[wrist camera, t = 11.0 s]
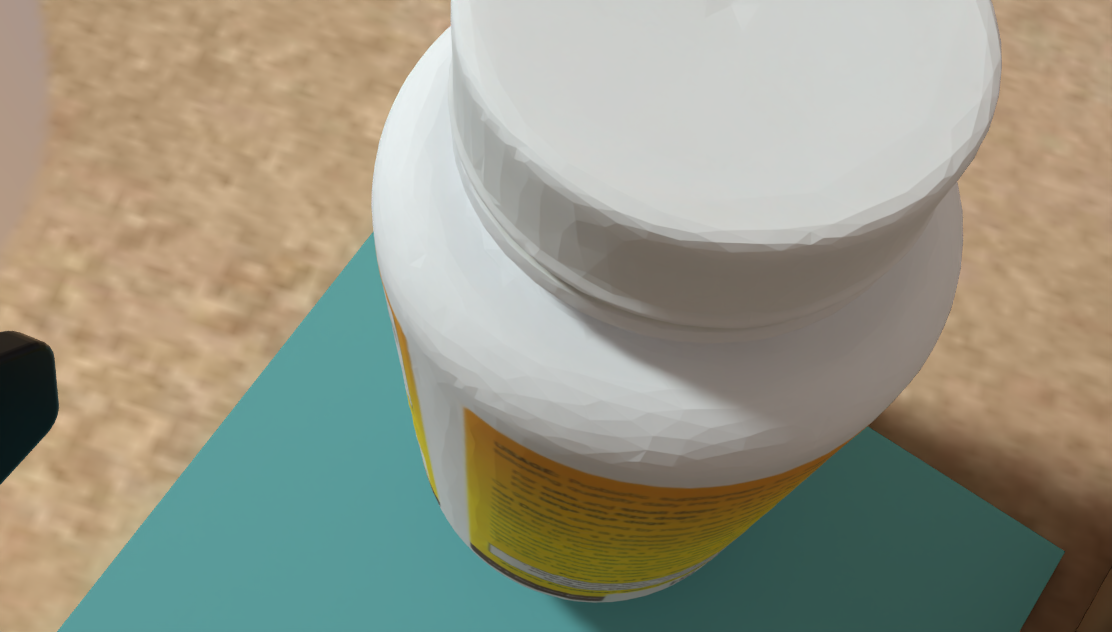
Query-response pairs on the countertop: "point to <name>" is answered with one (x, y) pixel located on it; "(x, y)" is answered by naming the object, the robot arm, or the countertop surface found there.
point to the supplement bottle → (667, 260)
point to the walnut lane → (1099, 610)
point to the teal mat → (475, 587)
